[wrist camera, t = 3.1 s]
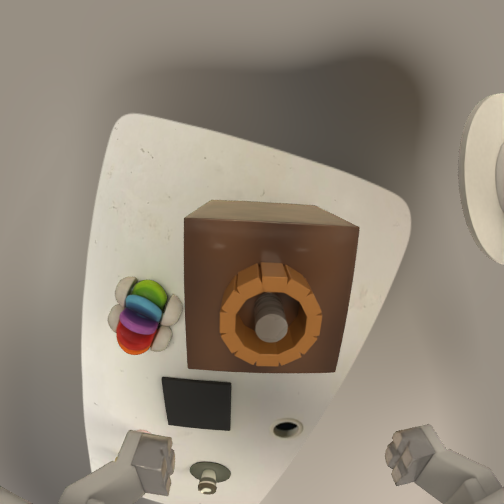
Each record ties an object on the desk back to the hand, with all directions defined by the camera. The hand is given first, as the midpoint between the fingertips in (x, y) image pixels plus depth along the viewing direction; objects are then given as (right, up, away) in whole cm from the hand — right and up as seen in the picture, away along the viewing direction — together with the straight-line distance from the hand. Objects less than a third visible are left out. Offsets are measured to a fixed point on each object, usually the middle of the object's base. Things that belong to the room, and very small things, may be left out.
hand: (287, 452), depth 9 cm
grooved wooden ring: (0, +3, +13) cm, 13 cm away
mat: (-9, -16, +33) cm, 38 cm away
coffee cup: (-9, -34, +38) cm, 52 cm away
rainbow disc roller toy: (-15, 0, +29) cm, 33 cm away
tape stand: (0, +7, +27) cm, 28 cm away
